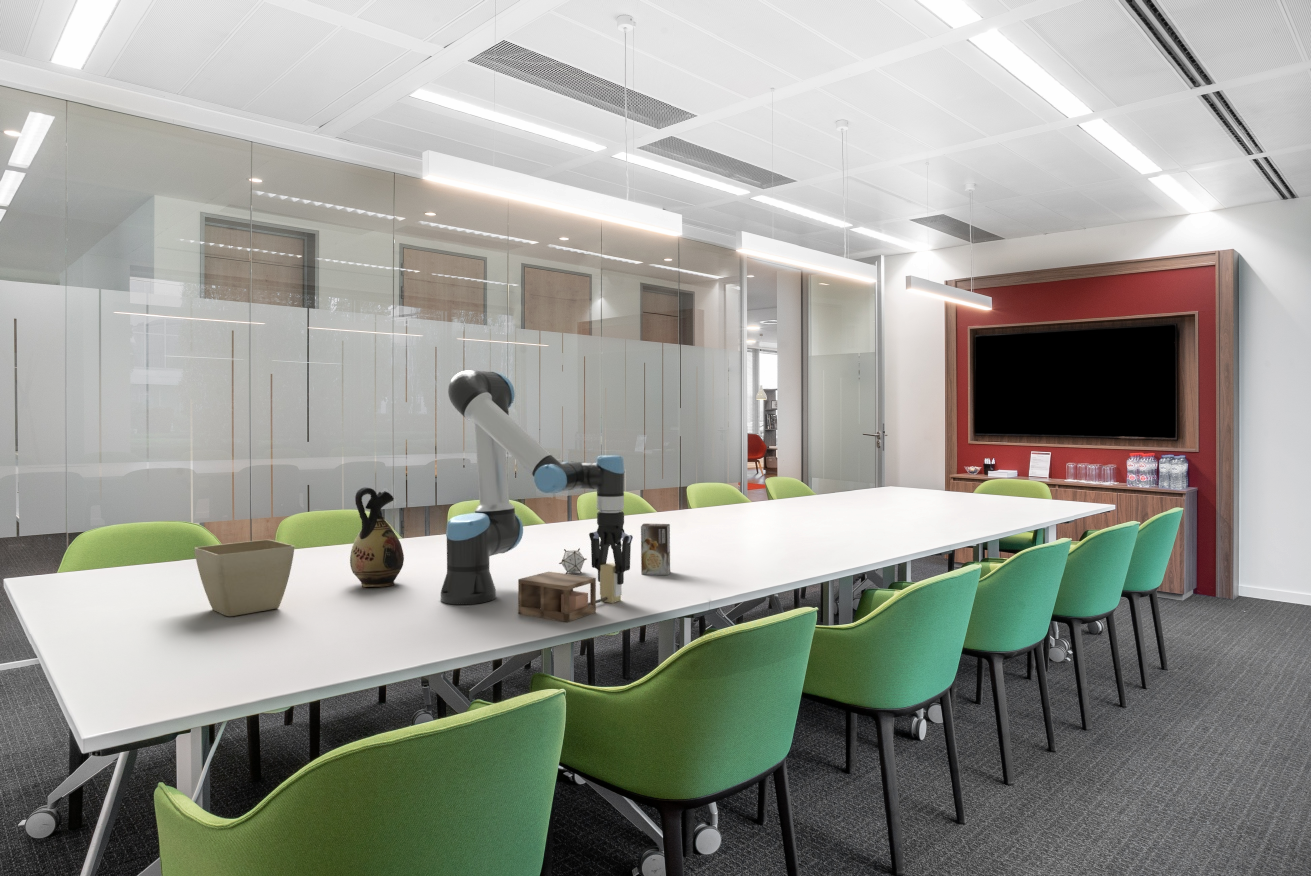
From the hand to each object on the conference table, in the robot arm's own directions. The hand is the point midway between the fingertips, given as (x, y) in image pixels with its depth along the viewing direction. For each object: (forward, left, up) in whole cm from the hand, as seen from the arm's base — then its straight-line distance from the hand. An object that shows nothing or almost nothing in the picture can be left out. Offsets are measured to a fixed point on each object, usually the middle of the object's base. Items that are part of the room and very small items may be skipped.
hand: (610, 594), depth 214 cm
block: (-3, -8, -2) cm, 8 cm away
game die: (-20, +37, -2) cm, 42 cm away
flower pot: (-94, -23, -2) cm, 97 cm away
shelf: (-11, -15, -2) cm, 19 cm away
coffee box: (+7, +41, -2) cm, 41 cm away
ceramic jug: (-75, +10, -2) cm, 76 cm away
